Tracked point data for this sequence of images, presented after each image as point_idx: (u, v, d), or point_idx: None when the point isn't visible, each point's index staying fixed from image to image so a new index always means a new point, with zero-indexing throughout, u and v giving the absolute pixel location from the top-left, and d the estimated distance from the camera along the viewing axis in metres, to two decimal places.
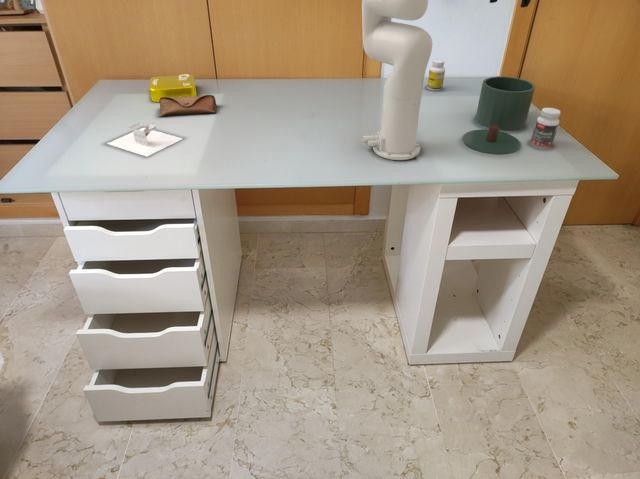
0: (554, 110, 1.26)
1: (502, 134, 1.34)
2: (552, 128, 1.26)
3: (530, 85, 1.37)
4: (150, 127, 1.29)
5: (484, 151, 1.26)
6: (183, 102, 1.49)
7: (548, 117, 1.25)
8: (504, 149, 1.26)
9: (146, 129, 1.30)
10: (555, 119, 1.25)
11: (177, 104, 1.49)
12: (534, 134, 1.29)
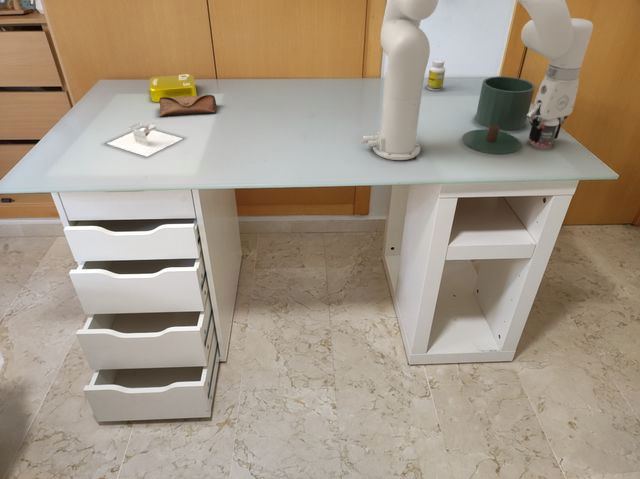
0: None
1: (502, 134, 1.34)
2: (552, 128, 1.26)
3: (530, 85, 1.37)
4: (150, 127, 1.29)
5: (484, 151, 1.26)
6: (183, 102, 1.49)
7: None
8: (504, 149, 1.26)
9: (146, 129, 1.30)
10: (555, 119, 1.25)
11: (177, 104, 1.49)
12: None
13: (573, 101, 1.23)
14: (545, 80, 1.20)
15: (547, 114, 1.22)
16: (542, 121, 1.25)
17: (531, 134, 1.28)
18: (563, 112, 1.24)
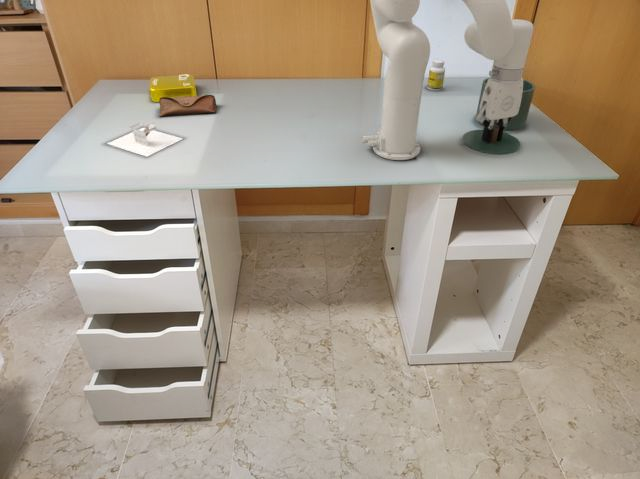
0: None
1: None
2: None
3: (530, 85, 1.37)
4: (150, 127, 1.29)
5: (484, 151, 1.26)
6: (183, 102, 1.49)
7: None
8: (504, 149, 1.26)
9: (146, 129, 1.30)
10: None
11: (177, 104, 1.49)
12: None
13: (519, 102, 1.24)
14: (489, 81, 1.20)
15: (492, 114, 1.23)
16: (491, 122, 1.26)
17: (483, 135, 1.29)
18: (509, 113, 1.24)
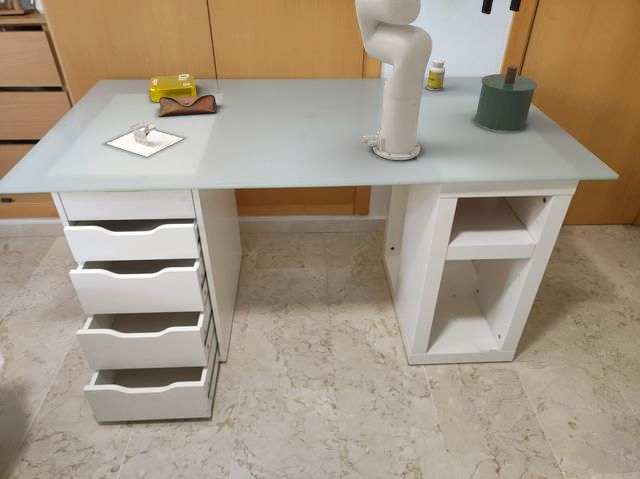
0: None
1: (519, 77, 1.40)
2: None
3: None
4: (150, 127, 1.29)
5: (503, 90, 1.31)
6: (183, 102, 1.49)
7: None
8: (522, 88, 1.32)
9: (146, 129, 1.30)
10: None
11: (177, 104, 1.49)
12: None
13: None
14: None
15: None
16: None
17: (483, 6, 1.28)
18: None
